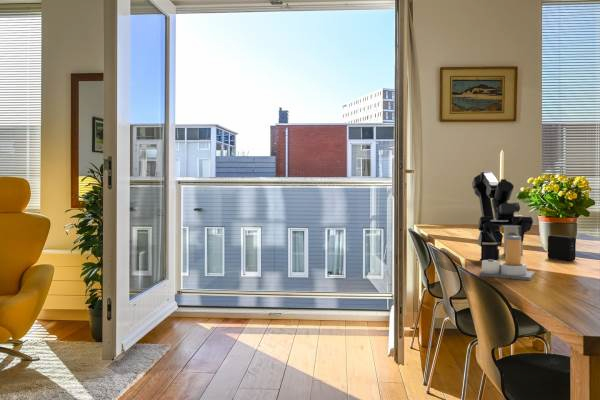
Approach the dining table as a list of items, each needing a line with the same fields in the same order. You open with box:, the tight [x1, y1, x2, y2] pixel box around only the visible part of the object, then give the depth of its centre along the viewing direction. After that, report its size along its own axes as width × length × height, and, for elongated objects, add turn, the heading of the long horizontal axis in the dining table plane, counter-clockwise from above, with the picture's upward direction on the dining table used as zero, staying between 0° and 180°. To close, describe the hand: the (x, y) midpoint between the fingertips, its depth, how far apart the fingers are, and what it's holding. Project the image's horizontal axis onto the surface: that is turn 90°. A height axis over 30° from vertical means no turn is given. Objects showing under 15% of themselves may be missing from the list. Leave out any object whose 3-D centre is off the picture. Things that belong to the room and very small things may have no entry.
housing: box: [479, 259, 535, 281], centre depth 181 cm, size 16×12×6 cm
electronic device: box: [547, 234, 577, 262], centre depth 213 cm, size 4×10×10 cm, turn 28°
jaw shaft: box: [504, 236, 522, 266], centre depth 180 cm, size 5×5×13 cm
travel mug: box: [503, 214, 524, 256], centre depth 229 cm, size 8×8×18 cm
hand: (509, 241), depth 184 cm, fingers open, 9 cm apart
